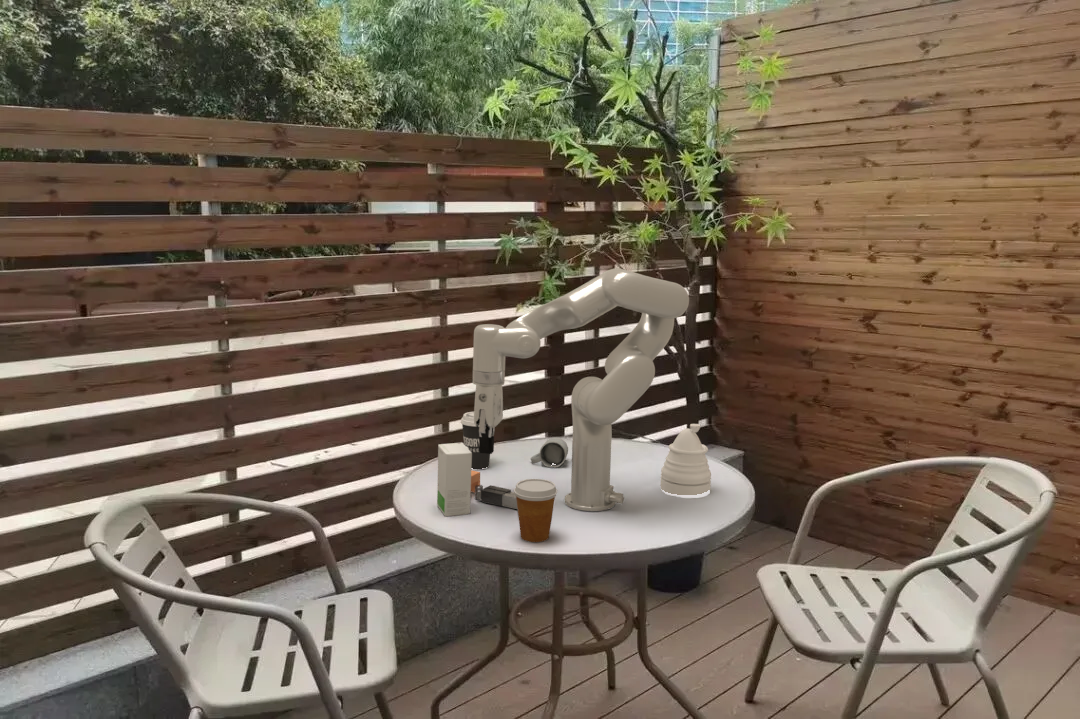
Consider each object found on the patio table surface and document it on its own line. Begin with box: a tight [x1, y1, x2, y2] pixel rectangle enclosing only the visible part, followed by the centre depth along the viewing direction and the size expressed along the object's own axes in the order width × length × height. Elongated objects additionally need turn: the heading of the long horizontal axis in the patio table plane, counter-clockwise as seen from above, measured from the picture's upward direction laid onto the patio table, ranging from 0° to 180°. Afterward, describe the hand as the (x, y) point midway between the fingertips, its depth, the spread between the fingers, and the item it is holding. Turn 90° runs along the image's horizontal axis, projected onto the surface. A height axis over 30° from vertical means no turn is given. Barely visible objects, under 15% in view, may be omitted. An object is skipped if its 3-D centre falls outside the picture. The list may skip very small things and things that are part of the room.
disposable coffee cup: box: [513, 478, 558, 543], centre depth 179 cm, size 10×10×12 cm
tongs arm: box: [477, 487, 518, 510], centre depth 198 cm, size 17×2×3 cm, turn 61°
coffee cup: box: [460, 411, 491, 469], centre depth 228 cm, size 10×10×15 cm
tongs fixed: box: [474, 484, 515, 501], centre depth 200 cm, size 19×3×3 cm, turn 61°
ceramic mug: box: [530, 437, 569, 469], centre depth 233 cm, size 11×8×8 cm
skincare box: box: [436, 442, 472, 518], centre depth 194 cm, size 8×7×16 cm
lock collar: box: [471, 469, 481, 494], centre depth 205 cm, size 3×7×5 cm, turn 151°
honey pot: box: [659, 423, 712, 495], centre depth 211 cm, size 13×13×18 cm
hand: (486, 452), depth 194 cm, fingers closed
